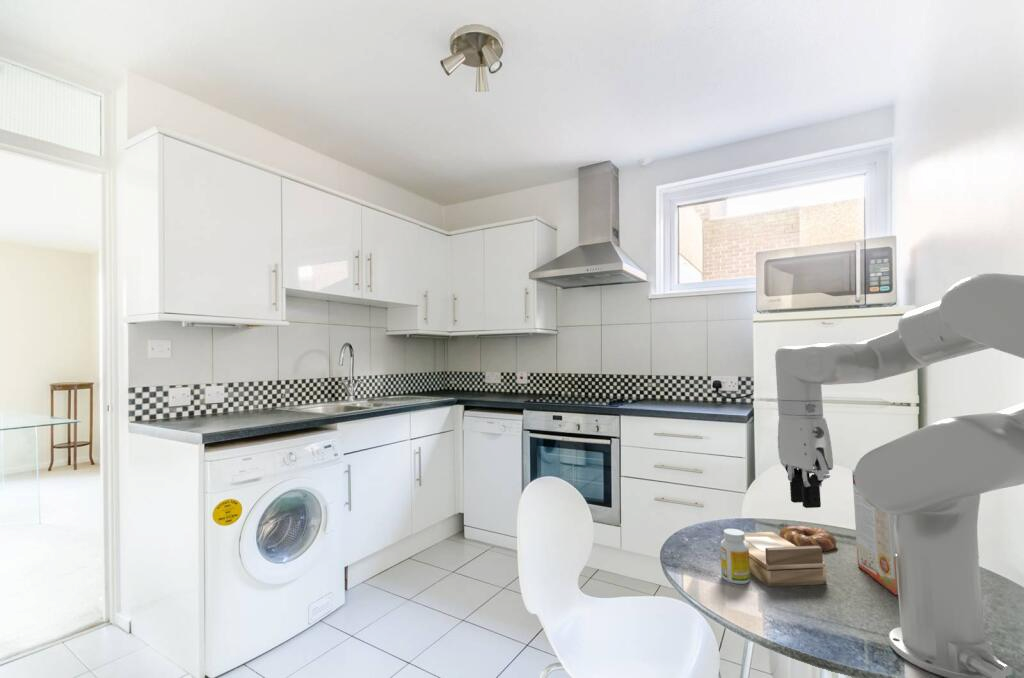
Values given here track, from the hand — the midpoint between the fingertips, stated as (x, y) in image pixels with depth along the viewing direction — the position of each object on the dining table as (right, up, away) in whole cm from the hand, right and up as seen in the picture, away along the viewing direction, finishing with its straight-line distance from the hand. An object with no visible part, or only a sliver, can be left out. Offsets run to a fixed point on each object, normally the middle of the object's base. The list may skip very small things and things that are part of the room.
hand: (805, 503), depth 92 cm
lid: (0, -15, +12) cm, 19 cm away
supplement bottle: (-10, -18, +6) cm, 22 cm away
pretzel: (+16, -19, +24) cm, 35 cm away
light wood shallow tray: (0, -18, +12) cm, 22 cm away
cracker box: (+20, -17, +4) cm, 26 cm away
